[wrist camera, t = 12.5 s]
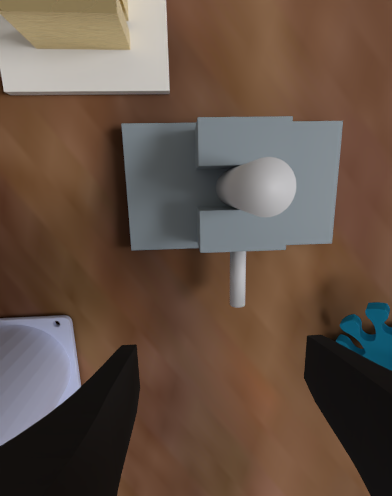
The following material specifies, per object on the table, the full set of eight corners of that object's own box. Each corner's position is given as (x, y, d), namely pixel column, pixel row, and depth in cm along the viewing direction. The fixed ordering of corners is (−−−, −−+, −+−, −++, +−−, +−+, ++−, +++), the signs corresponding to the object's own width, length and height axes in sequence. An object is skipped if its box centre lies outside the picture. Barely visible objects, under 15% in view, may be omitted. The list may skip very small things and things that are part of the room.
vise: (138, 293, 20) (110, 362, 12) (125, 127, 18) (79, 78, 10) (319, 285, 21) (404, 346, 13) (332, 125, 18) (450, 77, 10)
